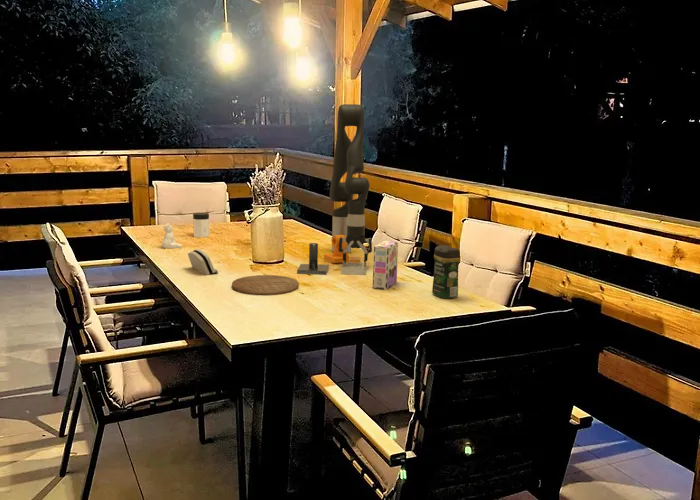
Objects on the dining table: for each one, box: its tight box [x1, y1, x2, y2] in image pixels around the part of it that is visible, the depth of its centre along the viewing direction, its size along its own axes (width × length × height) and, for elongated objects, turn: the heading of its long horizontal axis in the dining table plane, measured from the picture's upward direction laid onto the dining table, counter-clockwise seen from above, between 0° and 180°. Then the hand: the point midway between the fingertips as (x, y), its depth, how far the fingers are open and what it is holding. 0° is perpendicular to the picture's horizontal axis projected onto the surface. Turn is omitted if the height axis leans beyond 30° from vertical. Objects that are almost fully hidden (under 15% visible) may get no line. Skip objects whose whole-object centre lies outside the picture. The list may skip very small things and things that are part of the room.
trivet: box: [231, 274, 300, 296], centre depth 255 cm, size 25×25×2 cm
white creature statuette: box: [160, 222, 182, 250], centre depth 323 cm, size 10×9×12 cm
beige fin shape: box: [187, 249, 219, 276], centre depth 277 cm, size 17×5×10 cm, turn 34°
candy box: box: [372, 240, 399, 290], centre depth 260 cm, size 14×6×16 cm, turn 160°
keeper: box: [296, 242, 330, 275], centre depth 282 cm, size 12×12×12 cm
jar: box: [192, 212, 210, 238], centre depth 355 cm, size 9×8×12 cm
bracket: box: [323, 235, 350, 264], centre depth 301 cm, size 11×7×12 cm, turn 29°
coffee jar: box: [431, 244, 461, 300], centre depth 246 cm, size 10×8×19 cm
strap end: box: [340, 256, 367, 276], centre depth 286 cm, size 17×10×4 cm, turn 177°
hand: (355, 261), depth 291 cm, fingers open, 8 cm apart
